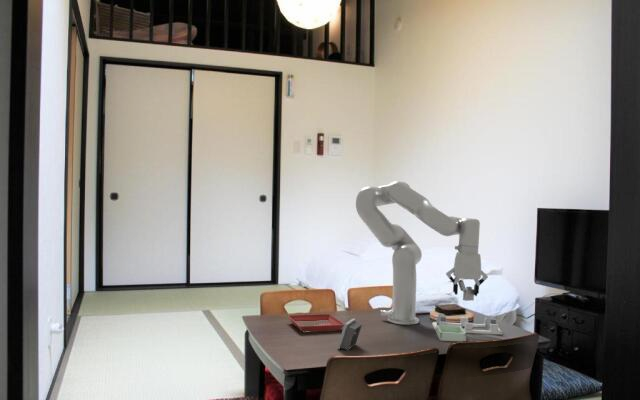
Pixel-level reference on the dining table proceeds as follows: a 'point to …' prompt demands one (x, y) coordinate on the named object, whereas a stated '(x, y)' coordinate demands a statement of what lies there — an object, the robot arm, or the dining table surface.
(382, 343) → the dining table surface
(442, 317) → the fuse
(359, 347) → the dining table surface
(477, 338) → the dining table surface
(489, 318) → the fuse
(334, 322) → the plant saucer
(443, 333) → the tray
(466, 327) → the fuse panel
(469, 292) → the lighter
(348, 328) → the electrical switch
